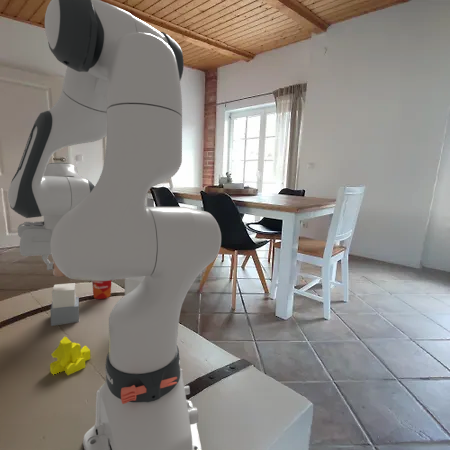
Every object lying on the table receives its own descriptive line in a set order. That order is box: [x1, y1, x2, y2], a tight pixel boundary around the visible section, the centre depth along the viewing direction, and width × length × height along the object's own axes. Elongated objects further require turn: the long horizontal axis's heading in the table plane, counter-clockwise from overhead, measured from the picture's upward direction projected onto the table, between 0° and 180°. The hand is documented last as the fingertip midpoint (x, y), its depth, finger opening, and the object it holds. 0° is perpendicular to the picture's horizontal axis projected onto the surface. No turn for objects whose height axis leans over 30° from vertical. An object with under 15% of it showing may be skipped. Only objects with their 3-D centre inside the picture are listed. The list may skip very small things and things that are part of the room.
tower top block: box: [51, 282, 77, 308], centre depth 83 cm, size 6×6×5 cm
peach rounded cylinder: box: [52, 259, 67, 278], centre depth 81 cm, size 5×5×5 cm
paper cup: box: [91, 280, 113, 300], centre depth 99 cm, size 8×8×14 cm
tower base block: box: [49, 296, 80, 327], centre depth 84 cm, size 7×7×5 cm
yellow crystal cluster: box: [49, 335, 91, 376], centre depth 63 cm, size 6×8×8 cm
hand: (63, 268), depth 81 cm, fingers closed on peach rounded cylinder, 5 cm apart
